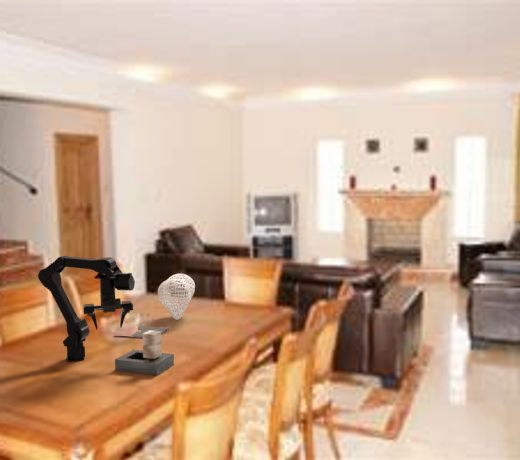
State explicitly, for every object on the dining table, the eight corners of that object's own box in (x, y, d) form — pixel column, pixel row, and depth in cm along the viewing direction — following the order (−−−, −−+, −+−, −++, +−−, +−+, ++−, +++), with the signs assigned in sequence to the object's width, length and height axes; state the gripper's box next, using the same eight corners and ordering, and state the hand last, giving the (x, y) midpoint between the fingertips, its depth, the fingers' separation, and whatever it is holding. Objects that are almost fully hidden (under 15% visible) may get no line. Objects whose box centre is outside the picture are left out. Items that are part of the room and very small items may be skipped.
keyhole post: (141, 367, 222) (140, 333, 221) (150, 362, 228) (149, 329, 226) (155, 369, 220) (154, 335, 219) (163, 364, 226) (162, 331, 224)
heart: (169, 312, 312) (168, 271, 310) (197, 313, 311) (197, 271, 309) (155, 326, 285) (154, 281, 282) (186, 327, 283) (185, 281, 281)
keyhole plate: (115, 370, 222) (114, 359, 222) (133, 359, 234) (133, 349, 234) (157, 375, 216) (156, 364, 216) (173, 364, 228) (173, 354, 228)
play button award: (155, 336, 263) (114, 334, 268) (155, 340, 264) (114, 337, 268) (169, 327, 279) (130, 325, 284) (169, 330, 279) (130, 328, 284)
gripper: (83, 295, 220) (84, 336, 222) (134, 292, 226) (135, 331, 227) (82, 290, 231) (84, 328, 232) (131, 286, 236) (132, 324, 238)
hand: (109, 328), depth 232 cm, fingers open, 9 cm apart
